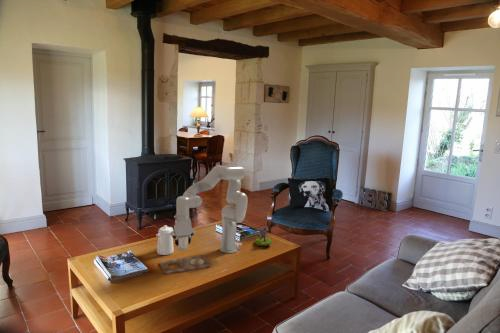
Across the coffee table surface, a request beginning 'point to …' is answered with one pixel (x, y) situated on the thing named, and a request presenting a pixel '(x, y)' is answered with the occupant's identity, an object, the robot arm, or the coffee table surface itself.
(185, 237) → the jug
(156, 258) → the coffee table surface
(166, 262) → the board
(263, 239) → the animal figurine
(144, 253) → the coffee table surface
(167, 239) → the coffeepot
